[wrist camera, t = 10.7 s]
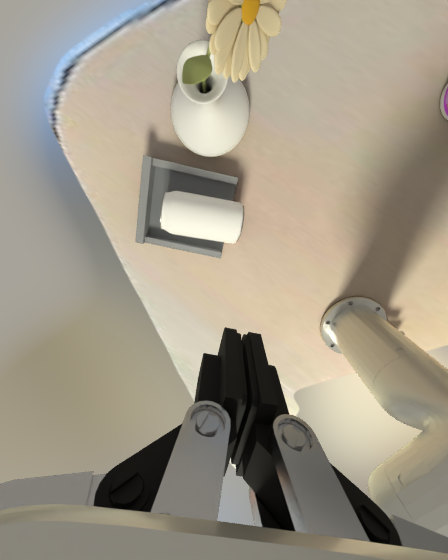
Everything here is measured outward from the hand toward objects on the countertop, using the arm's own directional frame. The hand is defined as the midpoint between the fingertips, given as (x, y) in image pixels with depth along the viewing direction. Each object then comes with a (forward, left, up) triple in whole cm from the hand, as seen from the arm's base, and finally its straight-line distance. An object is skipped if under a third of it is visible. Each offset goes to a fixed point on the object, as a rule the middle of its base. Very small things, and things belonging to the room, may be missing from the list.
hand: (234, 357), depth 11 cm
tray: (+7, -3, -33) cm, 34 cm away
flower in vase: (+6, -18, -33) cm, 38 cm away
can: (-1, -3, -30) cm, 30 cm away
